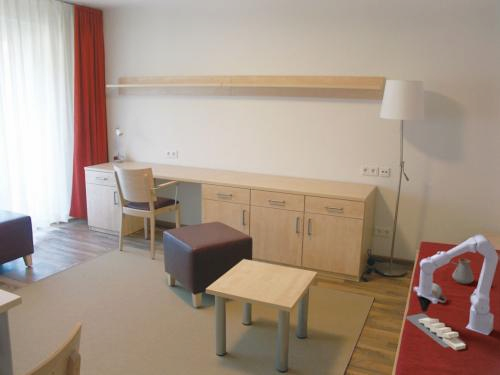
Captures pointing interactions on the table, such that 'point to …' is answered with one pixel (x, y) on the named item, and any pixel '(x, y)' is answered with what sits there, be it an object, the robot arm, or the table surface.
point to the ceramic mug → (438, 292)
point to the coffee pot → (463, 272)
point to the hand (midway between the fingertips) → (424, 310)
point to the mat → (427, 329)
